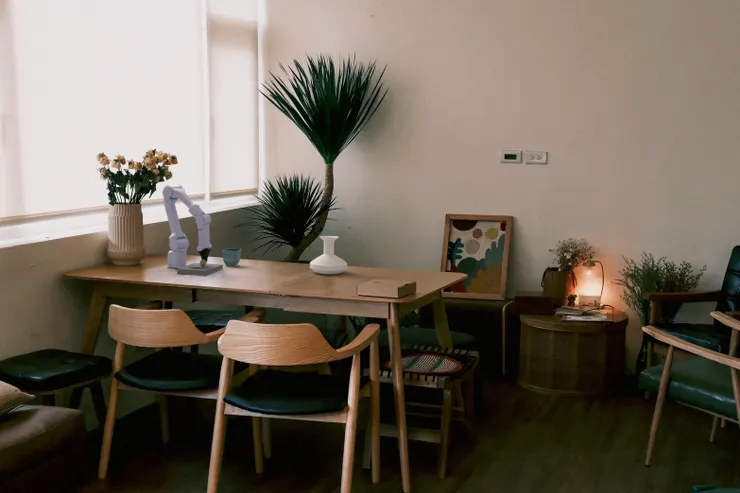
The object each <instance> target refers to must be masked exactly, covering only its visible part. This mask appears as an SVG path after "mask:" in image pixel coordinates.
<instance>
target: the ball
mask: <svg viewBox="0 0 740 493" xmlns="http://www.w3.org/2000/svg"><path fill="white" fill-rule="evenodd" d="M199 263H200V265H201V266H205V265H206V264H207V263H206V261H205V260H202V259H201V260H200V261H199Z"/></svg>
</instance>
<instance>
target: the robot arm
mask: <svg viewBox="0 0 740 493" xmlns="http://www.w3.org/2000/svg"><path fill="white" fill-rule="evenodd" d="M162 197H163V206H164V209H165V213H166V216H167V220H168V225H169V228H170V233H171V235H169V237H168V240H169V243H168V244H169V249H171V250H169V251H168V252H167V266H166V267H167V268H174V269H178V268H181V267H184V266H187V265H188V264H187V251H188V248H190V240H189V239H188V238H187V235H186V233H184V232H183V230H182V226H181V223H180V219H179V215H178V211H177V207H176V202H177V201H178V200H180V201H181V203H183V204H184V205H185V206H186V207H187V208H188V213H189V214H190V215H191V216H192V217H193V219H195V224H196V225H197V230H198V246H196V251H197V252H198V253H199V255H200V259H201V260H205V261H206V264H208V260H209V255H210V252H211V251H212V249H211V248H212V247H213V246H212V243H211V241H210V239H211V238H210V237H211V236H210V224H212V216H211V215H210V214H208V213H206V212H205V211H204V210H203V209H202V208H201V207H200V205H199V204H195V203H194V202H193V201H192V200H191V198H190V197H189V195H188V194H187V193H186V190H185V188H183V186H182V185H181V184H177V185H176V184H175V185H173V184H172V185H169V184H168V185H166V186H164V187H163V189H162Z"/></svg>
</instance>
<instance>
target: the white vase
mask: <svg viewBox="0 0 740 493" xmlns="http://www.w3.org/2000/svg"><path fill="white" fill-rule="evenodd" d="M319 238H320V239H321V240H322V241H323V254H321V255H319V256H316V258H314V259H313V260H311V261H310V262H309V269H311V270H312V271H313V272H314V273H316V274H320V275H339V274H341V273H344V272H345V271H346V270H347V269H348V263H347V261H345V260H344V259H343V258H341V257H339V256H338V255H336V254H335V241H336V240H337V239H339V236H337V235H336V236H335V235H320V236H319Z"/></svg>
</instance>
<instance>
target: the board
mask: <svg viewBox="0 0 740 493" xmlns="http://www.w3.org/2000/svg"><path fill="white" fill-rule="evenodd" d="M186 265H187V266H184V267H181V268H176V273H177V274H179V275H189V276H190V275H192V276H193V275H194V276H208V275H211V274H214V273H217V272H219V271H222V270H223V269H224V264H218V263H206V265H205V266H201V265H200V262H194V263H191V264H186Z"/></svg>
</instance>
